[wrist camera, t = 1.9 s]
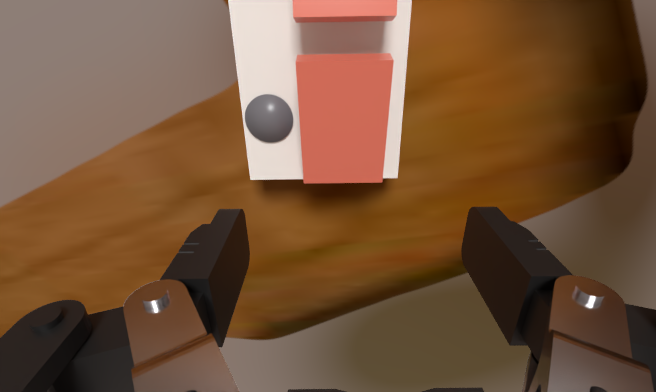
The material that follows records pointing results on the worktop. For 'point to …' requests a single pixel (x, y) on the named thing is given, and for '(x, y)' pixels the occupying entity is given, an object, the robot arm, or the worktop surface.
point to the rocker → (343, 116)
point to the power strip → (281, 82)
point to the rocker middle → (344, 10)
